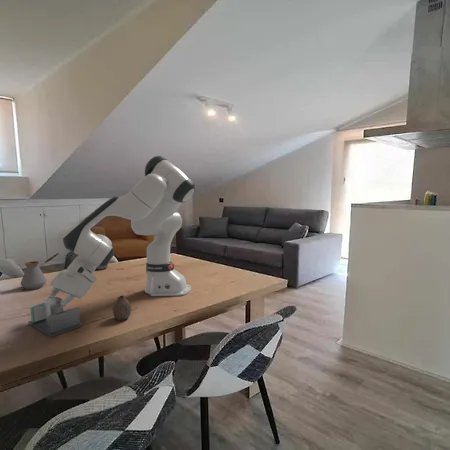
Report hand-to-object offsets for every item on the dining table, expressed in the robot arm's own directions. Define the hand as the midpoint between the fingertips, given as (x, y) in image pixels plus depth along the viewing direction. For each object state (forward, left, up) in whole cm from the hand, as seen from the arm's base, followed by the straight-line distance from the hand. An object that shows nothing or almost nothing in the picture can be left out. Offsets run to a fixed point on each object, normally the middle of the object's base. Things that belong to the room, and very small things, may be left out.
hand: (55, 302), depth 119 cm
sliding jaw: (+6, -3, -7) cm, 10 cm away
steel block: (0, +1, -7) cm, 7 cm away
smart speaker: (+26, -80, -9) cm, 85 cm away
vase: (-22, -8, -9) cm, 25 cm away
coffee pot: (+39, -45, -9) cm, 61 cm away
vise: (0, +1, -8) cm, 8 cm away
